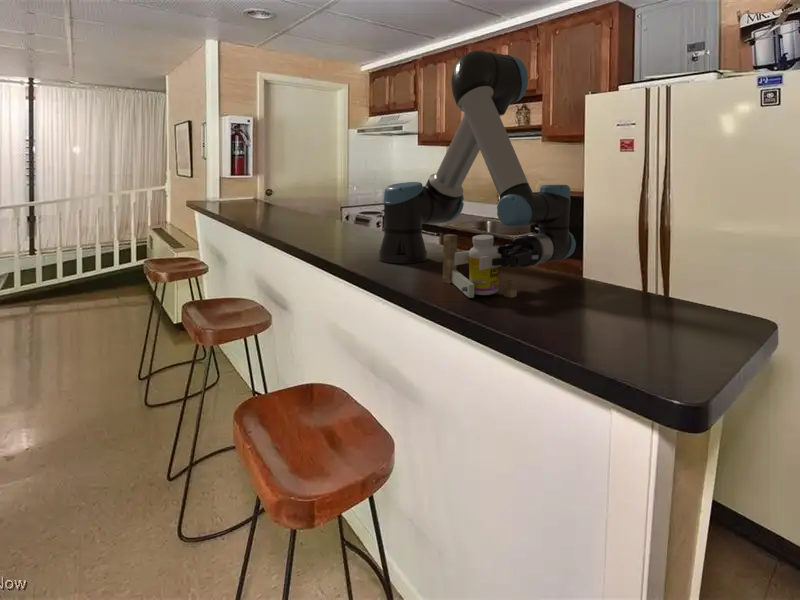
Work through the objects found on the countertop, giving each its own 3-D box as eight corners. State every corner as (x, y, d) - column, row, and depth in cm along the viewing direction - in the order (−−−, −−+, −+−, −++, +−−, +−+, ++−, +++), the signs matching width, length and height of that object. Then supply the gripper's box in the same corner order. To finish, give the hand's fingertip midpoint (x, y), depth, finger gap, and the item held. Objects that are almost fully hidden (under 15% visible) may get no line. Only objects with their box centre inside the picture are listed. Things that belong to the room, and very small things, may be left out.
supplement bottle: (492, 297, 119) (491, 241, 115) (465, 294, 123) (463, 239, 118) (503, 288, 124) (502, 234, 120) (477, 285, 128) (474, 233, 124)
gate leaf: (447, 282, 135) (447, 270, 134) (456, 281, 135) (456, 270, 134) (464, 297, 119) (464, 284, 118) (473, 297, 119) (474, 284, 119)
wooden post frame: (442, 281, 136) (443, 235, 133) (449, 280, 138) (450, 234, 135) (510, 297, 121) (513, 245, 118) (516, 296, 122) (520, 244, 119)
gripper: (564, 271, 126) (502, 285, 111) (498, 259, 140) (436, 271, 126) (566, 239, 124) (504, 249, 109) (499, 231, 138) (436, 239, 124)
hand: (468, 261), depth 118 cm, fingers closed on supplement bottle, 7 cm apart
